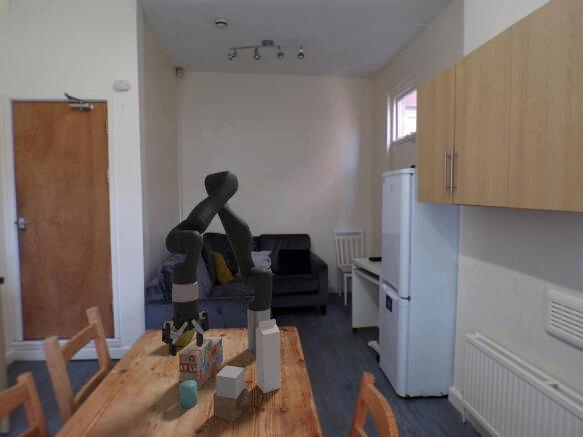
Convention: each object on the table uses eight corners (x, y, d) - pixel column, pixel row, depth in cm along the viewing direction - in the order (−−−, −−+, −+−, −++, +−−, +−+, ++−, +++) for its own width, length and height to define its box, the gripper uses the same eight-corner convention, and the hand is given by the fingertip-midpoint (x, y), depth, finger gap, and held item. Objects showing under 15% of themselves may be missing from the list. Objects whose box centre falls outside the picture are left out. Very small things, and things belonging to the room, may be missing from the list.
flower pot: (197, 340, 150) (196, 320, 150) (186, 349, 142) (186, 327, 141) (179, 339, 152) (178, 319, 152) (167, 347, 144) (167, 326, 143)
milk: (280, 388, 111) (280, 321, 110) (263, 393, 108) (263, 325, 107) (272, 379, 116) (272, 316, 115) (256, 384, 113) (255, 319, 112)
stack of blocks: (207, 359, 132) (207, 328, 131) (223, 361, 131) (222, 329, 130) (179, 389, 111) (178, 352, 110) (197, 391, 110) (196, 354, 109)
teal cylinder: (191, 397, 107) (190, 378, 106) (200, 403, 103) (199, 383, 103) (176, 404, 103) (176, 384, 103) (185, 410, 100) (184, 390, 99)
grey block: (226, 385, 102) (226, 365, 102) (244, 387, 101) (244, 368, 100) (216, 396, 96) (216, 375, 96) (235, 399, 95) (235, 378, 94)
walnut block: (230, 402, 104) (230, 383, 103) (248, 409, 100) (248, 389, 100) (213, 414, 98) (213, 394, 97) (232, 422, 94) (231, 401, 94)
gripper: (199, 290, 109) (200, 340, 110) (156, 300, 99) (157, 354, 100) (213, 294, 104) (214, 346, 105) (169, 305, 94) (170, 362, 94)
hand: (186, 350), depth 102 cm, fingers open, 8 cm apart
